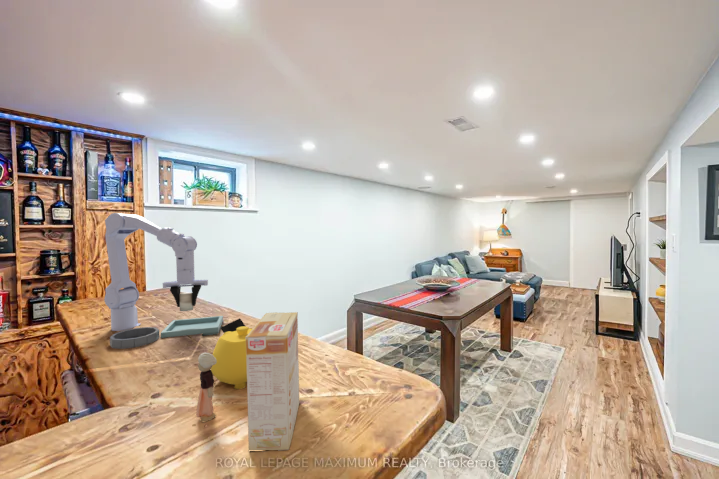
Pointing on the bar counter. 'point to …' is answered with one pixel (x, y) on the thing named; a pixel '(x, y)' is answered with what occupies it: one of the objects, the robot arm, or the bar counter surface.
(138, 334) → the grey rounded shallow piece
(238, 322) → the handheld gaming console
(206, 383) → the grandmother figurine
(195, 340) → the bar counter surface
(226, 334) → the teapot
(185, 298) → the cylinder
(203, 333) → the tray
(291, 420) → the coffeecake box
